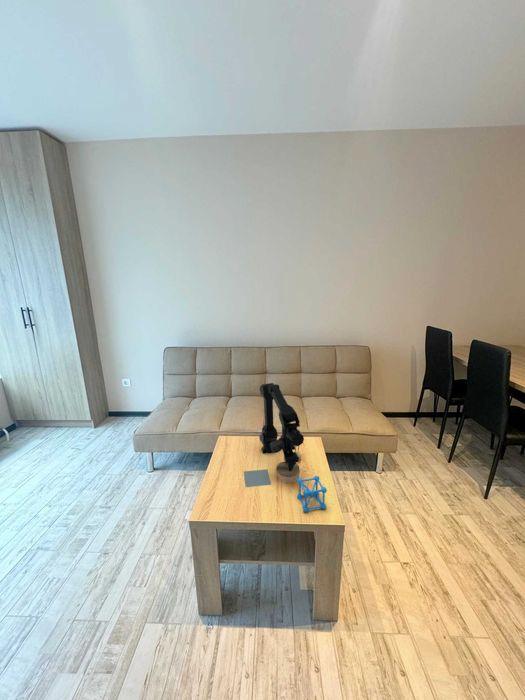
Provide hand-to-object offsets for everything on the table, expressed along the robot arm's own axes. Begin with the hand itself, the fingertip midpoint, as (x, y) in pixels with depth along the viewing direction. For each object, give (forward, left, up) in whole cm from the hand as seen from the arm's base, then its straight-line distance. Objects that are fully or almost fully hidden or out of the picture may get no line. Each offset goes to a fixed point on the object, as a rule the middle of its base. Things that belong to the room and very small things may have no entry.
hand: (288, 465), depth 144 cm
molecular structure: (+19, +6, -7) cm, 21 cm away
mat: (-1, -15, -6) cm, 16 cm away
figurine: (-15, +8, -7) cm, 18 cm away
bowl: (0, 0, -6) cm, 6 cm away
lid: (0, 0, -2) cm, 2 cm away
